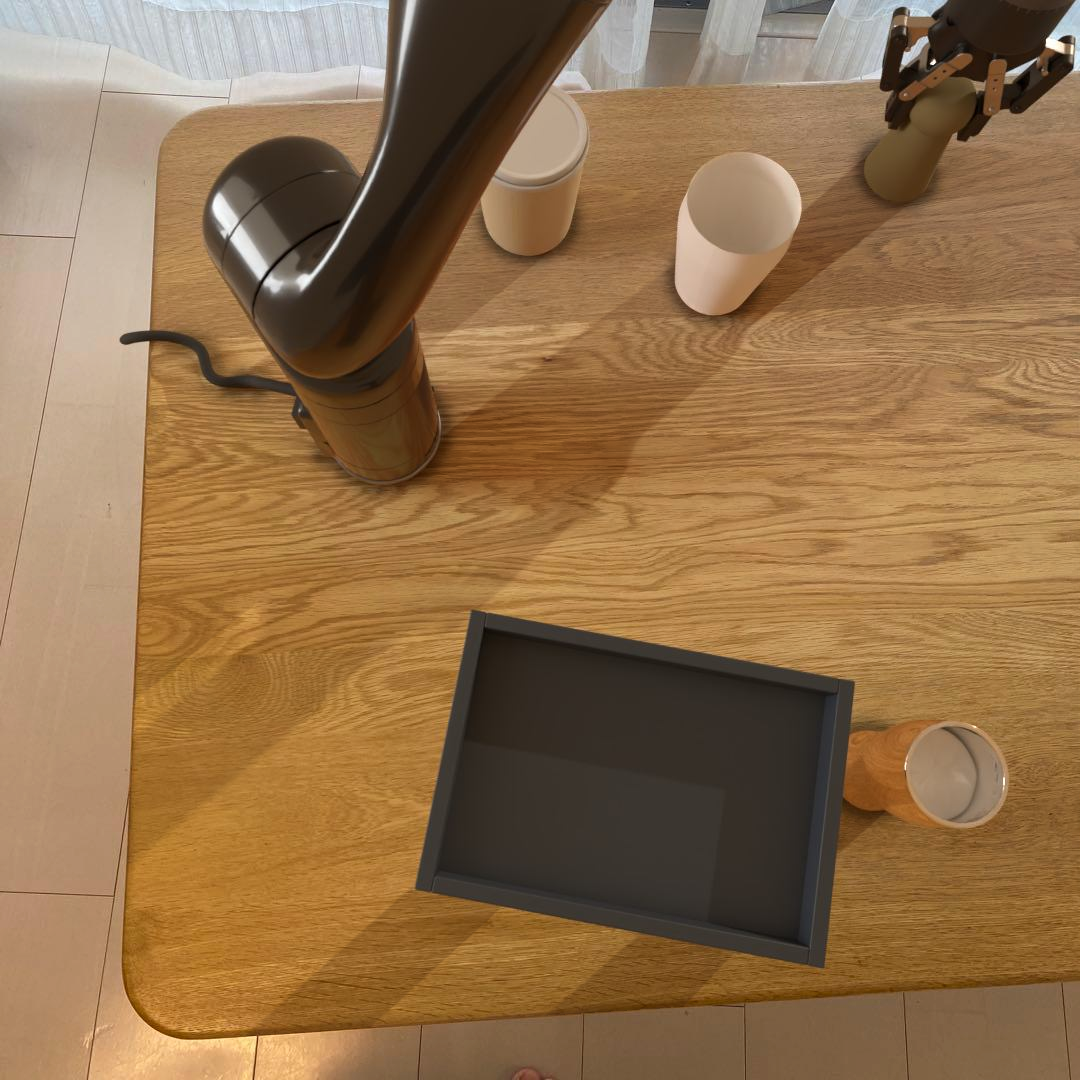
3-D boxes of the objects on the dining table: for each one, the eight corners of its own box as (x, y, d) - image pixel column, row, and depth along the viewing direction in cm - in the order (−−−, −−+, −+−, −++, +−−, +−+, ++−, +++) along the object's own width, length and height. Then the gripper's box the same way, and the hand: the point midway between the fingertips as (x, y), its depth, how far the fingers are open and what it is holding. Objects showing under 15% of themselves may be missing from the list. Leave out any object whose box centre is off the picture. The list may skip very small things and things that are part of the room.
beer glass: (888, 834, 72) (983, 854, 57) (809, 784, 72) (882, 792, 58) (928, 755, 73) (1031, 755, 58) (850, 707, 74) (932, 696, 59)
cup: (781, 267, 82) (825, 187, 71) (731, 347, 80) (767, 278, 69) (693, 217, 83) (722, 129, 71) (641, 295, 81) (662, 218, 70)
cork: (926, 208, 84) (986, 128, 73) (859, 195, 84) (910, 113, 73) (933, 150, 85) (993, 63, 74) (867, 137, 85) (918, 49, 75)
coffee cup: (527, 151, 84) (528, 54, 73) (602, 217, 83) (615, 129, 71) (453, 217, 83) (442, 128, 71) (528, 285, 81) (530, 206, 70)
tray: (453, 838, 71) (414, 889, 44) (488, 661, 74) (471, 608, 47) (708, 887, 70) (824, 969, 44) (732, 707, 74) (855, 681, 47)
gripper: (1145, -69, 63) (1014, 103, 79) (933, -105, 63) (846, 74, 79) (1141, 24, 61) (1008, 180, 77) (923, -13, 61) (837, 150, 78)
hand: (927, 125), depth 78 cm, fingers closed on cork, 5 cm apart
